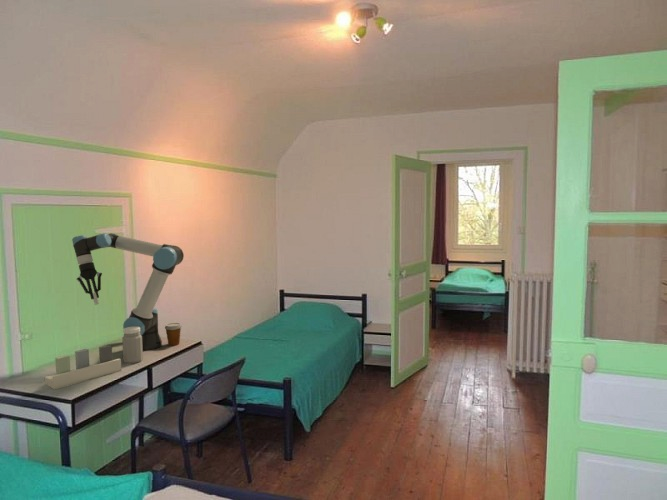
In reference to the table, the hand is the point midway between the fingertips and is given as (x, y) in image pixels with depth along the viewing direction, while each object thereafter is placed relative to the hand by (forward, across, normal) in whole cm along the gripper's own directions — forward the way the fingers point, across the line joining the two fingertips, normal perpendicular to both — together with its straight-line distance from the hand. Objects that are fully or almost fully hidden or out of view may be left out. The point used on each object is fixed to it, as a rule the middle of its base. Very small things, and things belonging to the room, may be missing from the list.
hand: (96, 304), depth 259 cm
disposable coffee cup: (+35, -36, -2) cm, 50 cm away
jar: (+35, -7, +16) cm, 39 cm away
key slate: (+32, +18, +24) cm, 44 cm away
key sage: (+32, +27, +30) cm, 52 cm away
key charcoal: (+34, +8, +25) cm, 43 cm away
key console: (+34, +18, +26) cm, 46 cm away
